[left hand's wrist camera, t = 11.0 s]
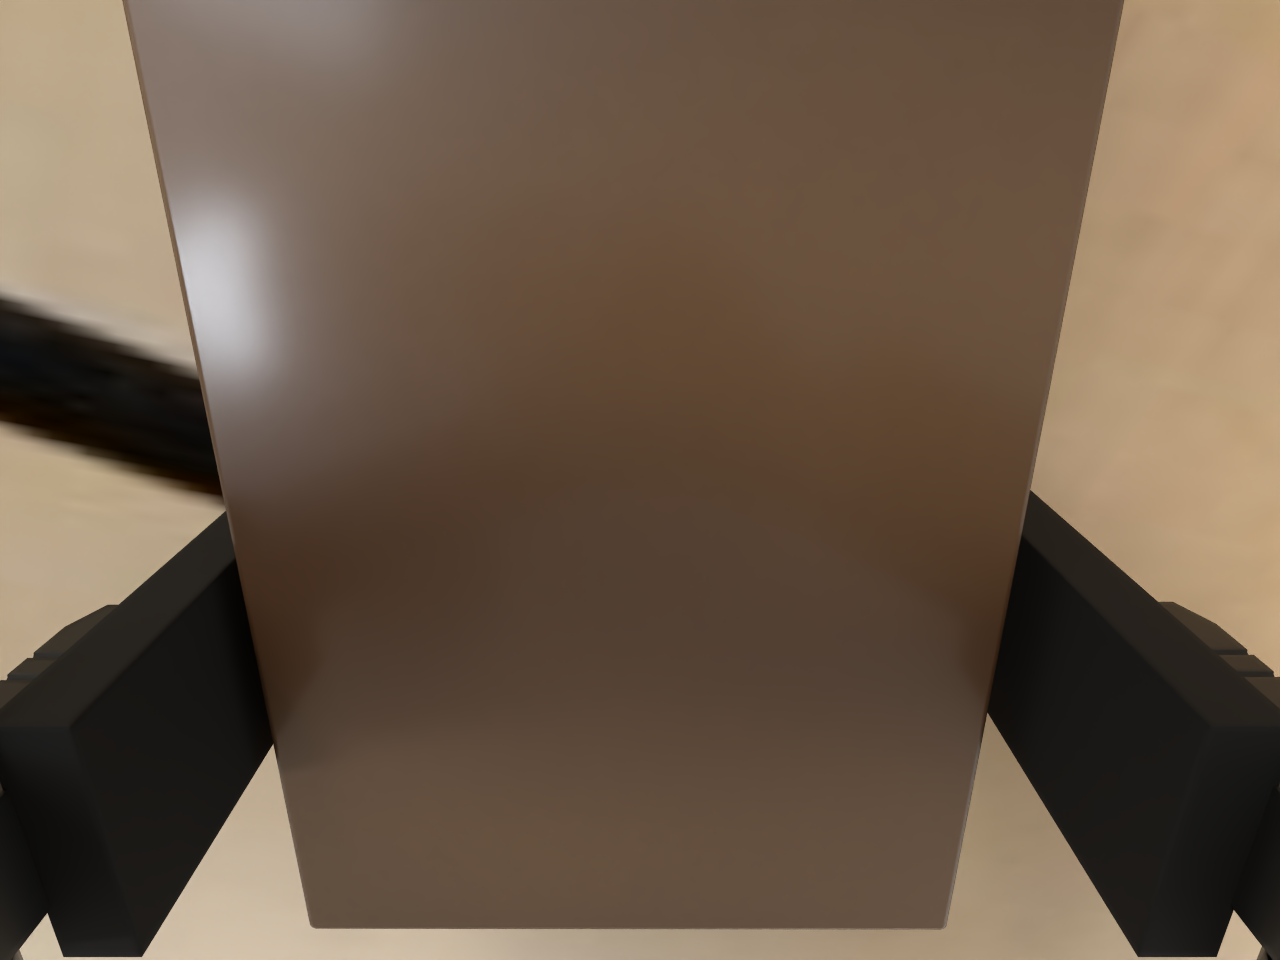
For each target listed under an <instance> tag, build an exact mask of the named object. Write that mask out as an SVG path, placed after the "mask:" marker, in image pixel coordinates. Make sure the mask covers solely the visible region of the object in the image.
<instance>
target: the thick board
mask: <svg viewBox="0 0 1280 960" xmlns="http://www.w3.org/2000/svg"><path fill="white" fill-rule="evenodd" d="M1123 4H1124V0H123V5H124V10H125V15H126V20H127V25H128V30H129V35H130V40H131V45H132V50H133V55H134V60H135V64H136V69H137V74H138V79H139V84H140V89H141V94H142V99H143V104H144V109H145V114H146V119H147V124H148V128H149V133H150V138H151V143H152V148H153V153H154V158H155V163H156V168H157V173H158V178H159V183H160V188H161V192H162V197H163V202H164V207H165V212H166V217H167V222H168V227H169V232H170V237H171V242H172V247H173V252H174V256H175V261H176V266H177V271H178V276H179V281H180V286H181V291H182V296H183V301H184V306H185V311H186V316H187V320H188V325H189V330H190V335H191V340H192V345H193V350H194V355H195V360H196V365H197V370H198V375H199V380H200V384H201V389H202V394H203V399H204V404H205V409H206V414H207V419H208V424H209V429H210V434H211V439H212V444H213V448H214V453H215V458H216V463H217V468H218V473H219V478H220V483H221V488H222V493H223V498H224V503H225V508H226V512H227V517H228V522H229V527H230V532H231V537H232V542H233V547H234V552H235V557H236V562H237V567H238V572H239V576H240V581H241V586H242V591H243V596H244V601H245V606H246V611H247V616H248V621H249V626H250V631H251V636H252V640H253V645H254V650H255V655H256V660H257V665H258V670H259V675H260V680H261V685H262V690H263V695H264V700H265V704H266V709H267V714H268V719H269V724H270V729H271V734H272V739H273V744H274V749H275V754H276V759H277V764H278V768H279V773H280V778H281V783H282V788H283V793H284V798H285V803H286V808H287V813H288V818H289V823H290V828H291V832H292V837H293V842H294V847H295V852H296V857H297V862H298V867H299V872H300V877H301V882H302V887H303V892H304V896H305V901H306V906H307V911H308V916H309V921H310V925H311V926H312V927H313V928H327V929H943V928H945V927H946V924H947V919H948V914H949V909H950V904H951V898H952V893H953V888H954V883H955V878H956V872H957V867H958V862H959V857H960V852H961V846H962V841H963V836H964V831H965V826H966V820H967V815H968V810H969V805H970V800H971V794H972V789H973V784H974V779H975V774H976V768H977V763H978V758H979V753H980V748H981V742H982V737H983V732H984V727H985V722H986V716H987V711H988V706H989V701H990V696H991V690H992V685H993V680H994V675H995V670H996V664H997V659H998V654H999V649H1000V644H1001V638H1002V633H1003V628H1004V623H1005V618H1006V612H1007V607H1008V602H1009V597H1010V592H1011V586H1012V581H1013V576H1014V571H1015V565H1016V560H1017V555H1018V550H1019V545H1020V539H1021V534H1022V529H1023V524H1024V519H1025V513H1026V508H1027V503H1028V498H1029V493H1030V487H1031V482H1032V477H1033V472H1034V467H1035V461H1036V456H1037V451H1038V446H1039V441H1040V435H1041V430H1042V425H1043V420H1044V415H1045V409H1046V404H1047V399H1048V394H1049V389H1050V383H1051V378H1052V373H1053V368H1054V363H1055V357H1056V352H1057V347H1058V342H1059V337H1060V331H1061V326H1062V321H1063V316H1064V311H1065V305H1066V300H1067V295H1068V290H1069V285H1070V279H1071V274H1072V269H1073V264H1074V259H1075V253H1076V248H1077V243H1078V238H1079V233H1080V227H1081V222H1082V217H1083V212H1084V207H1085V201H1086V196H1087V191H1088V186H1089V181H1090V175H1091V170H1092V165H1093V160H1094V155H1095V149H1096V144H1097V139H1098V134H1099V129H1100V123H1101V118H1102V113H1103V108H1104V103H1105V97H1106V92H1107V87H1108V82H1109V77H1110V71H1111V66H1112V61H1113V56H1114V51H1115V45H1116V40H1117V35H1118V30H1119V25H1120V19H1121V14H1122V9H1123Z"/></svg>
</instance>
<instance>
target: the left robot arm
mask: <svg viewBox="0 0 1280 960" xmlns="http://www.w3.org/2000/svg"><path fill="white" fill-rule="evenodd" d="M1273 673H1274V671H1272V670H1271V669H1270V668H1269V667H1268V666H1266V665H1265V664H1264V663H1263V662H1262V661H1260V660H1259V659H1258V658H1257V657H1255V656H1254V655H1248V653H1247V649H1246V648H1245V647H1243V646H1242V645H1241V644H1240V643H1239V642H1237V641H1236V640H1235V639H1234V638H1232V637H1231V636H1230V635H1229V634H1228V633H1226V632H1225V631H1224V630H1223V629H1222V628H1220V627H1219V626H1218V625H1217V624H1215V623H1213V622H1211V621H1209V620H1207V619H1205V618H1203V617H1201V616H1200V615H1198V614H1196V613H1194V612H1192V611H1190V610H1188V609H1186V608H1184V607H1182V606H1180V605H1178V604H1176V603H1174V602H1157V601H1156V600H1155V599H1154V598H1153V597H1152V596H1151V595H1149V594H1148V593H1147V592H1146V591H1145V590H1144V589H1143V588H1142V587H1140V586H1139V585H1138V584H1137V583H1136V582H1135V581H1134V580H1132V579H1131V578H1130V577H1129V576H1128V575H1127V574H1126V573H1124V572H1123V571H1122V570H1121V569H1120V568H1119V567H1118V566H1116V565H1115V564H1114V563H1113V562H1112V561H1111V560H1110V559H1108V558H1107V557H1106V556H1105V555H1104V554H1103V553H1102V552H1100V551H1099V550H1098V549H1097V548H1096V547H1095V546H1094V545H1092V544H1091V543H1090V542H1089V541H1088V540H1087V539H1086V538H1084V537H1083V536H1082V535H1081V534H1080V533H1079V532H1078V531H1076V530H1075V529H1074V528H1073V527H1072V526H1071V525H1070V524H1068V523H1067V522H1066V521H1065V520H1064V519H1063V518H1062V517H1060V516H1059V515H1058V514H1057V513H1056V512H1055V511H1054V510H1053V509H1051V508H1050V507H1049V506H1048V505H1047V504H1046V503H1045V502H1043V501H1042V500H1041V499H1040V498H1039V497H1038V496H1037V495H1035V494H1034V493H1033V492H1032V491H1031V490H1030V493H1029V498H1028V503H1027V508H1026V513H1025V519H1024V524H1023V529H1022V534H1021V539H1020V545H1019V550H1018V555H1017V560H1016V565H1015V571H1014V576H1013V581H1012V586H1011V592H1010V597H1009V602H1008V607H1007V612H1006V618H1005V623H1004V628H1003V633H1002V638H1001V644H1000V649H999V654H998V659H997V664H996V670H995V675H994V680H993V685H992V690H991V696H990V701H989V706H988V711H987V712H988V714H989V716H990V717H991V719H992V720H993V722H994V724H995V725H996V727H997V729H998V730H999V732H1000V733H1001V735H1002V737H1003V738H1004V740H1005V742H1006V743H1007V745H1008V746H1009V748H1010V750H1011V751H1012V753H1013V755H1014V756H1015V758H1016V759H1017V761H1018V763H1019V764H1020V766H1021V768H1022V769H1023V771H1024V772H1025V774H1026V776H1027V777H1028V779H1029V781H1030V782H1031V784H1032V785H1033V787H1034V789H1035V790H1036V792H1037V794H1038V795H1039V797H1040V798H1041V800H1042V802H1043V803H1044V805H1045V807H1046V808H1047V810H1048V811H1049V813H1050V815H1051V816H1052V818H1053V820H1054V821H1055V823H1056V824H1057V826H1058V828H1059V829H1060V831H1061V832H1062V834H1063V836H1064V837H1065V839H1066V841H1067V842H1068V844H1069V845H1070V847H1071V849H1072V850H1073V852H1074V854H1075V855H1076V857H1077V858H1078V860H1079V862H1080V863H1081V865H1082V867H1083V868H1084V870H1085V871H1086V873H1087V875H1088V876H1089V878H1090V880H1091V881H1092V883H1093V884H1094V886H1095V888H1096V889H1097V891H1098V893H1099V894H1100V896H1101V897H1102V899H1103V901H1104V902H1105V904H1106V906H1107V907H1108V909H1109V910H1110V912H1111V914H1112V915H1113V917H1114V919H1115V920H1116V922H1117V923H1118V925H1119V927H1120V928H1121V930H1122V932H1123V933H1124V935H1125V936H1126V938H1127V940H1128V941H1129V943H1130V945H1131V946H1132V948H1133V949H1134V951H1135V953H1136V954H1137V956H1138V957H1217V954H1218V951H1219V948H1220V946H1221V943H1222V940H1223V937H1224V935H1225V932H1226V929H1227V927H1228V924H1229V921H1230V918H1231V916H1232V913H1233V910H1234V911H1235V912H1236V913H1237V914H1238V916H1239V917H1240V918H1241V919H1242V921H1243V922H1244V923H1245V925H1246V926H1247V927H1248V928H1249V930H1250V931H1251V932H1252V934H1253V935H1254V936H1255V937H1256V939H1257V940H1258V941H1259V943H1260V944H1261V945H1262V948H1261V950H1260V953H1259V955H1258V958H1257V960H1280V677H1274V674H1273ZM272 745H273V739H272V734H271V729H270V724H269V719H268V714H267V709H266V704H265V700H264V695H263V690H262V685H261V680H260V675H259V670H258V665H257V660H256V655H255V650H254V645H253V640H252V636H251V631H250V626H249V621H248V616H247V611H246V606H245V601H244V596H243V591H242V586H241V581H240V576H239V572H238V567H237V562H236V557H235V552H234V547H233V542H232V537H231V532H230V527H229V522H228V517H227V512H226V511H225V512H224V513H223V514H222V515H221V516H220V517H218V518H217V519H216V520H215V521H214V522H213V523H212V524H210V525H209V526H208V527H207V528H206V529H205V530H204V531H202V532H201V533H200V534H199V535H198V536H197V537H196V538H194V539H193V540H192V541H191V542H190V543H189V544H188V545H186V546H185V547H184V548H183V549H182V550H181V551H180V552H178V553H177V554H176V555H175V556H174V557H173V558H172V559H170V560H169V561H168V562H167V563H166V564H165V565H164V566H162V567H161V568H160V569H159V570H158V571H157V572H156V573H155V574H153V575H152V576H151V577H150V578H149V579H148V580H147V581H145V582H144V583H143V584H142V585H141V586H140V587H139V588H137V589H136V590H135V591H134V592H133V593H132V594H131V595H129V596H128V597H127V598H126V599H125V600H124V601H123V602H121V603H120V604H119V605H107V606H105V607H103V608H101V609H99V610H97V611H95V612H93V613H91V614H89V615H87V616H85V617H83V618H81V619H79V620H77V621H75V622H73V623H72V624H70V625H68V626H66V627H64V628H63V629H62V630H61V631H59V632H58V633H57V634H56V635H55V636H53V637H52V638H51V639H50V640H49V641H47V642H46V643H45V644H44V645H43V646H41V647H40V648H39V649H38V650H37V651H35V652H34V657H33V658H27V659H26V660H25V661H23V662H22V663H21V664H20V665H19V666H17V667H16V668H15V669H14V670H13V671H11V672H10V673H9V674H8V678H7V680H1V681H0V960H23V958H22V955H21V953H20V950H19V949H20V947H21V946H22V945H23V944H24V942H25V941H26V940H27V938H28V937H29V936H30V935H31V933H32V932H33V931H34V929H35V928H36V927H37V926H38V924H39V923H40V922H41V920H42V919H43V918H44V917H45V915H46V914H47V913H48V915H49V918H50V921H51V924H52V926H53V929H54V932H55V935H56V937H57V940H58V943H59V946H60V948H61V951H62V954H63V957H142V956H143V954H144V953H145V951H146V949H147V948H148V946H149V945H150V943H151V941H152V940H153V938H154V936H155V935H156V933H157V932H158V930H159V928H160V927H161V925H162V923H163V922H164V920H165V919H166V917H167V915H168V914H169V912H170V910H171V909H172V907H173V906H174V904H175V902H176V901H177V899H178V897H179V896H180V894H181V893H182V891H183V889H184V888H185V886H186V885H187V883H188V881H189V880H190V878H191V876H192V875H193V873H194V872H195V870H196V868H197V867H198V865H199V863H200V862H201V860H202V859H203V857H204V855H205V854H206V852H207V850H208V849H209V847H210V846H211V844H212V842H213V841H214V839H215V837H216V836H217V834H218V833H219V831H220V829H221V828H222V826H223V824H224V823H225V821H226V820H227V818H228V816H229V815H230V813H231V811H232V810H233V808H234V807H235V805H236V803H237V802H238V800H239V798H240V797H241V795H242V794H243V792H244V790H245V789H246V787H247V785H248V784H249V782H250V781H251V779H252V777H253V776H254V774H255V772H256V771H257V769H258V768H259V766H260V764H261V763H262V761H263V759H264V758H265V756H266V755H267V753H268V751H269V750H270V748H271V746H272Z"/></svg>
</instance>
